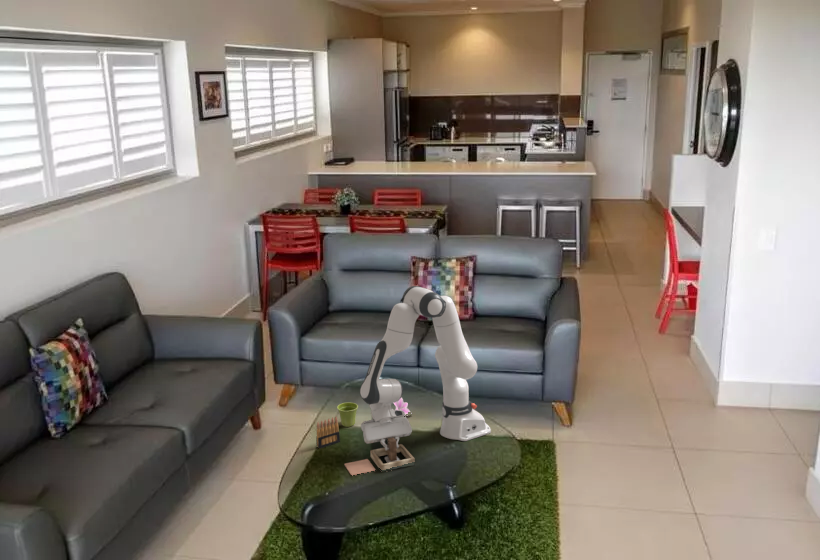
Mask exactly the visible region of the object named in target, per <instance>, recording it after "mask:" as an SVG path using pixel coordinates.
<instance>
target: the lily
mask: <svg viewBox="0 0 820 560" xmlns="http://www.w3.org/2000/svg"><path fill="white" fill-rule="evenodd" d="M408 403H409V402H406V401H405V402H404V399H403V397H401V398H400V400H398V401H397V402H395V403H392V404H394V406H395V409H394V410H401V411H404V412H405V416H407V415H406V414H408V412H411V411H410V409H409V408H408V405H409V404H408Z"/></svg>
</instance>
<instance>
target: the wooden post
mask: <svg viewBox="0 0 820 560" xmlns="http://www.w3.org/2000/svg"><path fill="white" fill-rule="evenodd" d="M387 445H389V447H390V449H389V450H388V455H387V456H385V457H384V461H386V463H390V462H395V461H399V460H401V459H400V458H399V456H397V455H398V453H397V447H396V440H395V439H394V438H388V440H387Z"/></svg>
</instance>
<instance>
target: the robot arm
mask: <svg viewBox="0 0 820 560" xmlns="http://www.w3.org/2000/svg"><path fill="white" fill-rule="evenodd" d="M399 301H400V302H399V303H396V304H394V305H393V307H392V309H391V311H390V315H389V316H388V317H389V318H388V321H387V327H386V330H385V333H384V335H383V337H382V338H381V340H380V341H379V342H378V343H377V344H376V346H375V349H374V350H373V353H372V356H371V360H370V363H369V365H368V369H367V371H366V375H365V378H364V380H363V381H362V383H361V385H360V387H359V395H360V397H361V399H362V401H364V402H365V404H367V405H368V406H369V407H370V414H371V417H372V419H370V420H369V419H368V420H363V422H362V423H361V424H360V429H361V431H362V432H363V440H364V443H366V444H367V445H369V444H373V443H378V442H380V444H381V445H382V446H383V448H385V450H386V451H387V450H389V449H390V447H389V445H388V444H386V441H388V438H394V439H395V440H396V447H397V448H399V441H400V438H402V437H408V436H410V435H412V432H413V428H412V425H411V423H410V421H409V418H408V417H406V415H405V412H404V411H401V410H395V409H393V408H392V404H393V403H395V402H398V400H400V398H401V397H402V396H403V394H404V388H403V385H402V383H401V381H400V380H399V379H397V378H396V379H395V378H383V379H382V378H381V375H382V372H383V368H384V366H385V363H386V362H387V360H388V359H389V358H391V357H392V356H394V355H396V354H398V353H402V352H404V351H406V350H408V348H409V347H410V346H411V344H412V341H413V337H414V332H415V324H416V322H417V320H418V318H419V317H420V316H423V317H424V318H429V319H431V320H432V324H433V327H434V331H435V337H436V339H437V343H438V344H439V345H438V347H437V348H436V350H435V352H434V357H435V360H436V363H437V365H438V368H439V372H440V373H439V374H440V377H441V383H442V392H443V394H442V395H443V397H442V405H441V407H442V408H441V410H442V421H441V427H440V430H439V434H440V435H441V436H442V437H444V438H447V439H450V440H458V441H462V442H467V441H470V440H473V439H476V438H479V437H482V436H485V435H488V434H489V435H490V433H492V428H491V427H490V425H488V423H486V420H485V418H484V416H483V415H482V414H481V413H480V412H478V411H477V410H476V409H477V407H478V405H477V404H475V402H474V403H473V402H472V401H470V400H469V399H470V397H469V396H470V395H469V390H470V389H469V388H470V387H469V383H468V380H469V379H470V380H471V379H472V378H473V377H474V376H476V373H477V372H478V363H477V361H476V360H475V358H474V357H473V354H472V353H471V350H470V347H469V345H468V343H467V341H466V338H465V337H464V333H463V331H462V327H461V321H460V318H459V313H458V311H457V307H456V305H455V303H454V301H453V299H452V298H451V297H450V296H448V295H440V294H438V292H434V291H432V290H430V289H429V288H425V287H422V286H418V285H412V286H409V287H408V288H406V289H405V291H404V292H403V294H402V297H401V298H400V300H399ZM402 398H403V397H402ZM404 416H405V417H404Z"/></svg>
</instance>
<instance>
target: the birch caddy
mask: <svg viewBox="0 0 820 560" xmlns="http://www.w3.org/2000/svg"><path fill="white" fill-rule="evenodd" d="M398 445H399V448H397V454H399V453H401V454H402V456H404V459H400V460H399V461H395V462H390V463H387V462H386V463H383V461H382V460H381V458H380V457H382V456H388V450H387V451H386V450H385V447H380V448H375V449H370V458H371V460H372V461H373V462H374V463H375V465H376V466H377V468H378V469H379V468H380V469H381V470H386V469H390V468H392V467H397V466H402V465H404V464H408V463H412V462H416V461H415V457H414V456H413V455H412V454H411V453H410V451H409V450H408V449H407V448H406V447H405V445H403V444H402V443H398ZM380 469H379V470H380ZM381 470H380V471H381Z"/></svg>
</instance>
